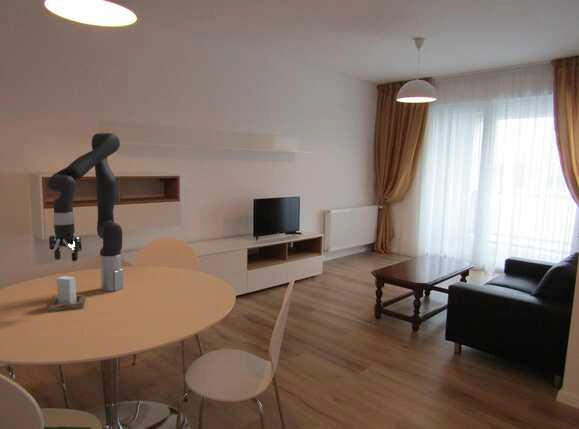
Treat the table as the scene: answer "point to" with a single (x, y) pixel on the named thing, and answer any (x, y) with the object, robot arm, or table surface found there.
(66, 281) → the skincare box
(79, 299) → the tray
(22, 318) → the table surface
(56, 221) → the robot arm
